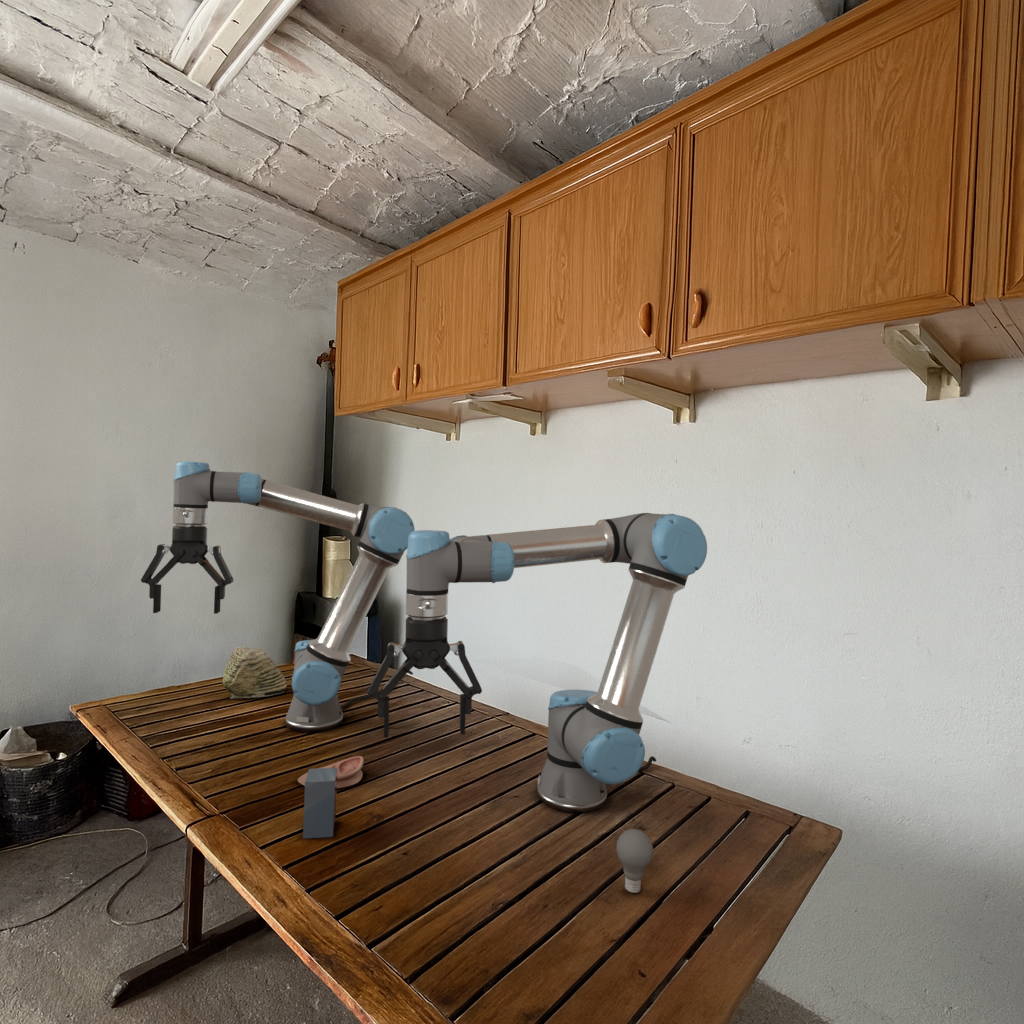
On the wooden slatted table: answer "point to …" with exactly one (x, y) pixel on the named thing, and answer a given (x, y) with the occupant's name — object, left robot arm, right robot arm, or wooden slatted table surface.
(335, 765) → the anatomical model
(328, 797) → the brick
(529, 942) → the wooden slatted table surface
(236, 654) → the fossil
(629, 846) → the light bulb
